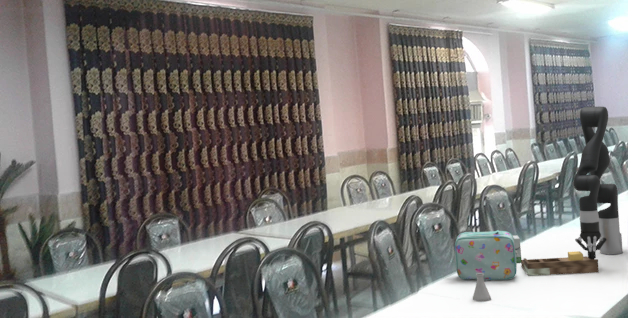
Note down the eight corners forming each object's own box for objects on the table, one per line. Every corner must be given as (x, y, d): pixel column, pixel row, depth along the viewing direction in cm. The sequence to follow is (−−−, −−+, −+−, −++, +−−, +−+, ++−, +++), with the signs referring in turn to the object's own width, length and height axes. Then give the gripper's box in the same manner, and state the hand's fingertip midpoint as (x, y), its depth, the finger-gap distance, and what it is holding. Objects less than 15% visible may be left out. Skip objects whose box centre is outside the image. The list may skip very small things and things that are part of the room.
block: (580, 262, 263) (579, 251, 263) (583, 265, 258) (582, 253, 258) (568, 263, 264) (567, 251, 264) (571, 265, 259) (570, 254, 259)
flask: (469, 297, 239) (467, 273, 238) (487, 295, 239) (485, 270, 239) (476, 302, 231) (474, 277, 231) (494, 300, 232) (492, 275, 232)
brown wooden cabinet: (587, 262, 273) (586, 251, 272) (598, 272, 256) (597, 259, 256) (521, 266, 278) (520, 254, 277) (528, 275, 261) (527, 263, 261)
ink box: (522, 262, 284) (520, 238, 283) (511, 263, 285) (509, 238, 284) (519, 258, 292) (517, 234, 292) (509, 258, 293) (507, 235, 293)
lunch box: (520, 274, 264) (516, 227, 263) (520, 281, 254) (516, 231, 253) (458, 275, 273) (454, 229, 272) (456, 281, 263) (452, 233, 262)
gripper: (575, 222, 257) (578, 262, 258) (608, 220, 255) (611, 260, 256) (571, 219, 265) (573, 258, 265) (602, 217, 262) (605, 256, 263)
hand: (592, 259), depth 261 cm, fingers closed
